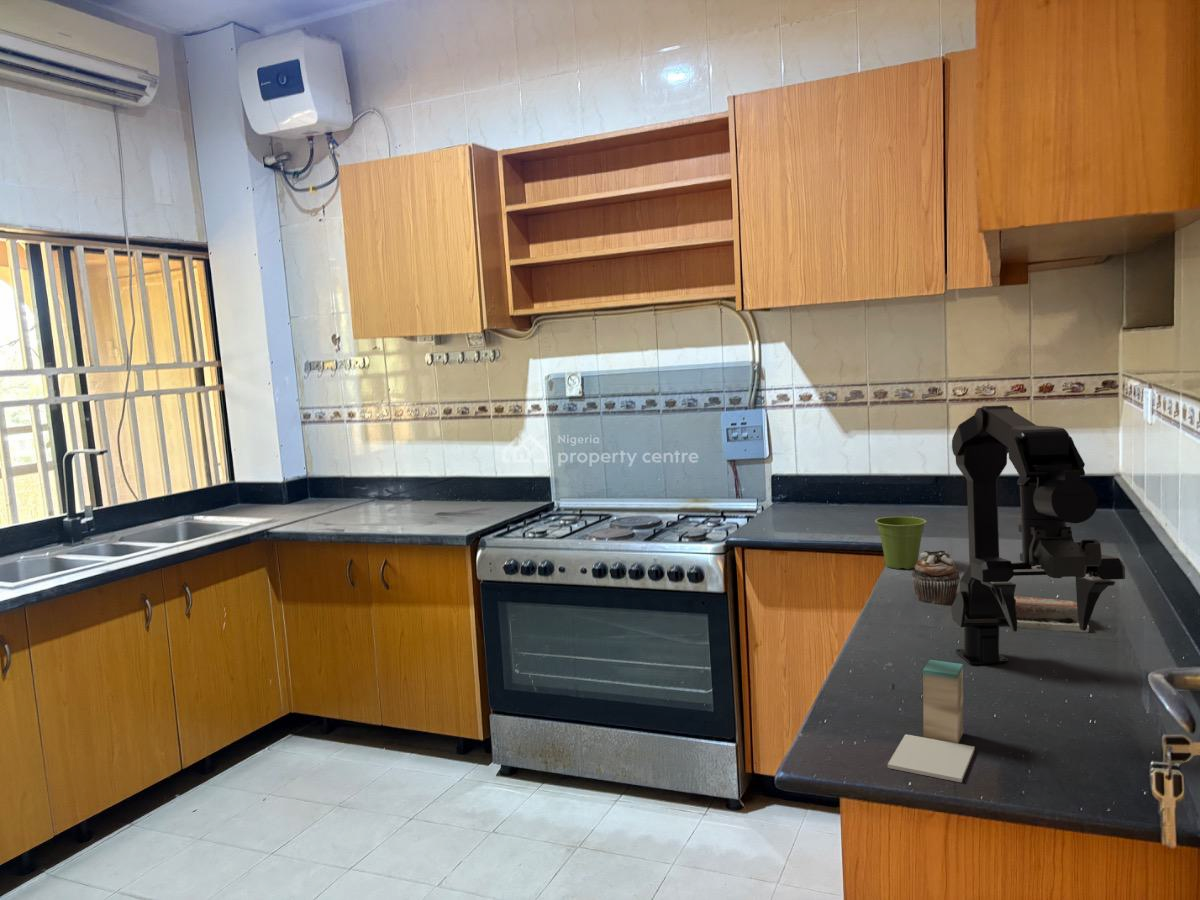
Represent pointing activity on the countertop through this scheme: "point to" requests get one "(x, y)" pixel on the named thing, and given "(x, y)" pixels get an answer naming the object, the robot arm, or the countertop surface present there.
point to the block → (943, 701)
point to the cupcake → (935, 578)
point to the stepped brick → (1047, 614)
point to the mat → (932, 758)
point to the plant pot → (901, 540)
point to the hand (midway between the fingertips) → (1048, 630)
